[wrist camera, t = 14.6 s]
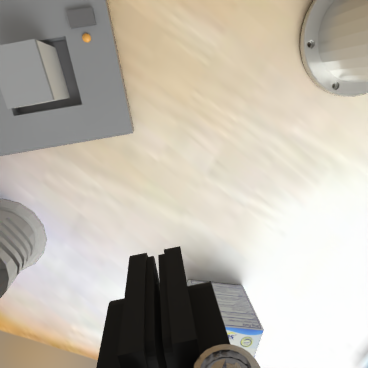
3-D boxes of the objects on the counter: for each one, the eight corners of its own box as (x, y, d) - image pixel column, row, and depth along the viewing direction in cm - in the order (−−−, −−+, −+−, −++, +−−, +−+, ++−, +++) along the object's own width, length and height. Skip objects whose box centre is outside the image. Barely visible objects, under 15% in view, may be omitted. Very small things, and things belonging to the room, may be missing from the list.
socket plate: (105, -9, 31) (101, -17, 28) (134, 130, 35) (132, 133, 33) (-59, 16, 30) (-78, 9, 28) (-9, 155, 34) (-21, 160, 32)
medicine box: (181, 305, 43) (188, 356, 35) (187, 277, 42) (197, 324, 34) (235, 310, 44) (254, 361, 36) (243, 283, 43) (265, 330, 35)
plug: (55, 47, 31) (34, 38, 26) (70, 97, 33) (53, 100, 27) (15, 54, 31) (-15, 47, 26) (32, 105, 33) (7, 109, 27)
